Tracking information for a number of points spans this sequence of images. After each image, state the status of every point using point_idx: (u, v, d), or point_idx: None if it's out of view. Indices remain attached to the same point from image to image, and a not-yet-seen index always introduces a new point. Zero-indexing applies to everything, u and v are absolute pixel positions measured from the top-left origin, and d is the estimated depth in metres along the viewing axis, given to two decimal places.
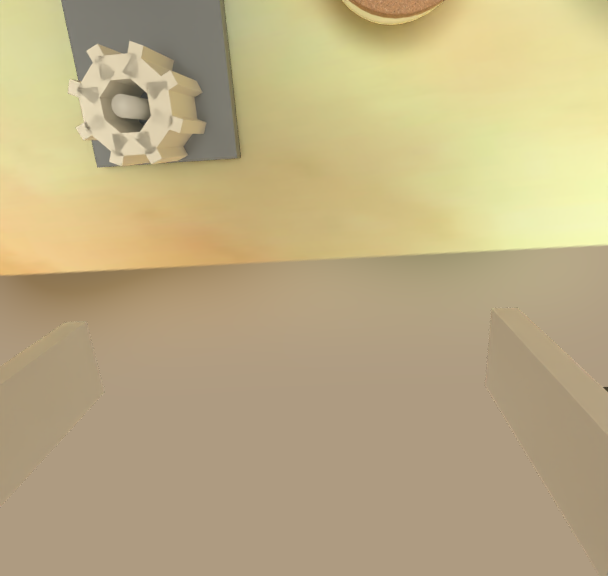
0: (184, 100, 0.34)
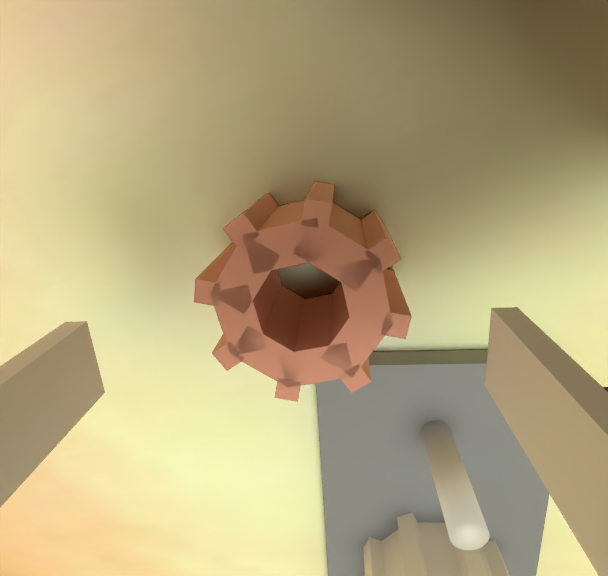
0: None
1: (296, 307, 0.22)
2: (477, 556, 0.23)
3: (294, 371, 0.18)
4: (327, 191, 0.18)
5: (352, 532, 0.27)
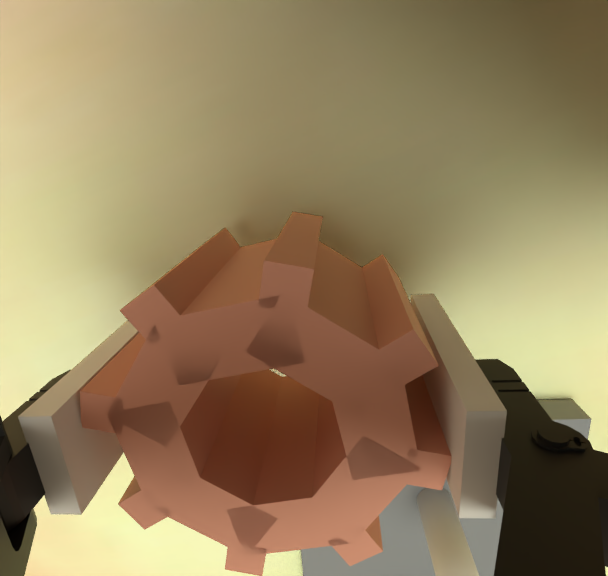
0: None
1: (267, 397, 0.14)
2: None
3: (256, 534, 0.11)
4: (309, 234, 0.11)
5: None
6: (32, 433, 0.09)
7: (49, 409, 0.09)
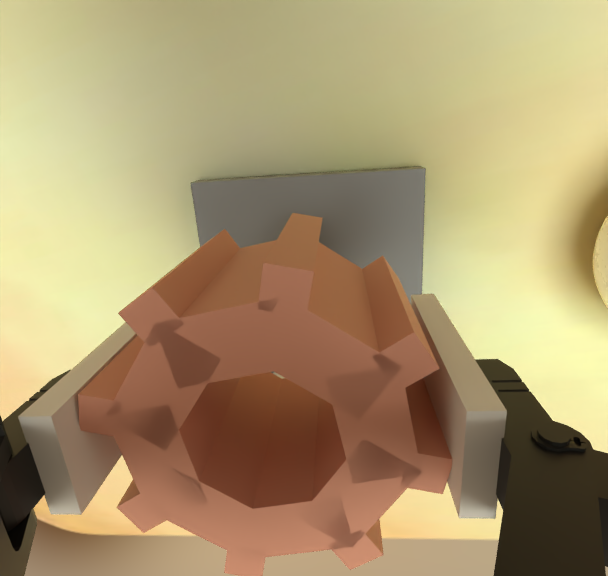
0: None
1: (266, 399, 0.14)
2: None
3: (255, 537, 0.11)
4: (309, 235, 0.11)
5: None
6: (32, 433, 0.09)
7: (49, 409, 0.09)
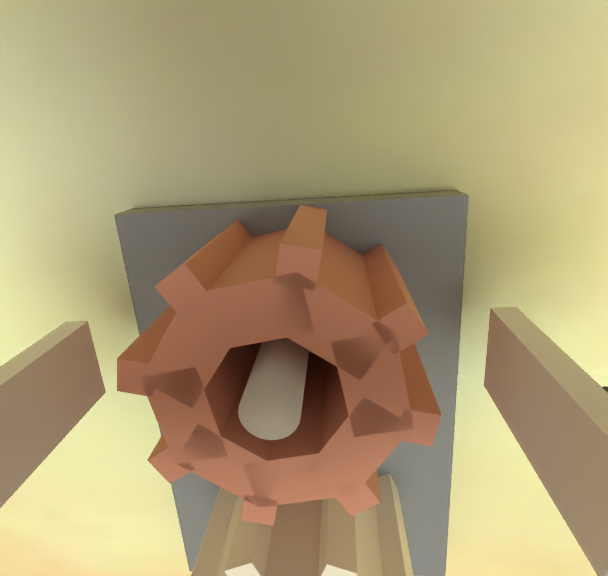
0: None
1: None
2: None
3: (268, 486, 0.12)
4: (316, 223, 0.13)
5: None
6: None
7: None
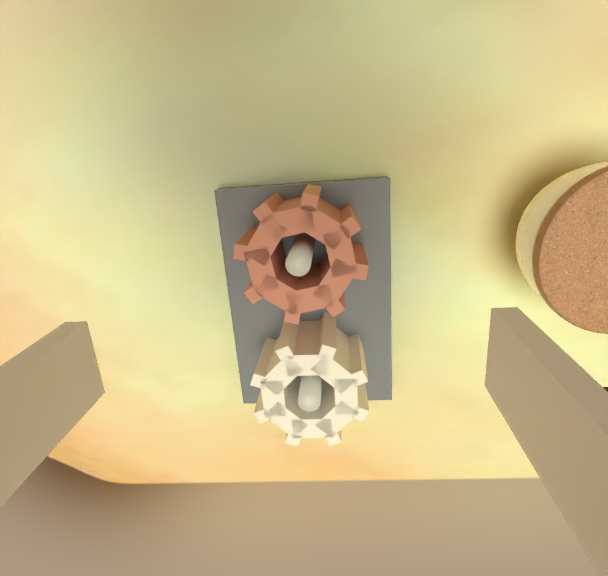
0: None
1: None
2: (333, 327, 0.32)
3: (296, 303, 0.28)
4: (316, 189, 0.28)
5: (253, 333, 0.36)
6: None
7: None
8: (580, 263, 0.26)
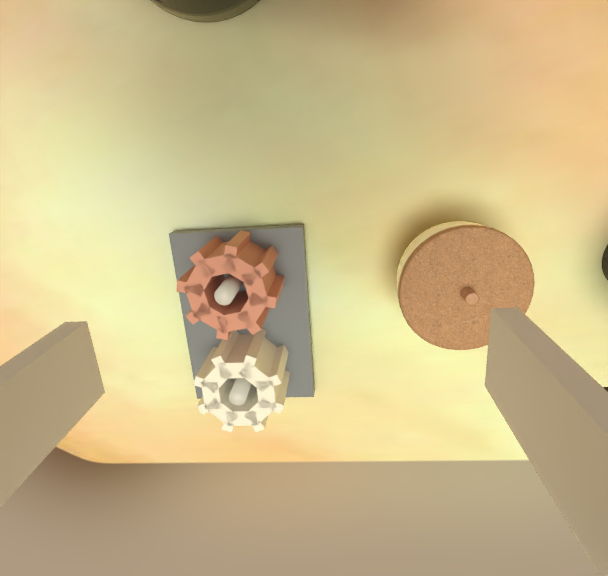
0: None
1: None
2: (260, 340, 0.41)
3: (225, 324, 0.37)
4: (241, 238, 0.38)
5: (203, 343, 0.45)
6: None
7: None
8: (428, 299, 0.35)
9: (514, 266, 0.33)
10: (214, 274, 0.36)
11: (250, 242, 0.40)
